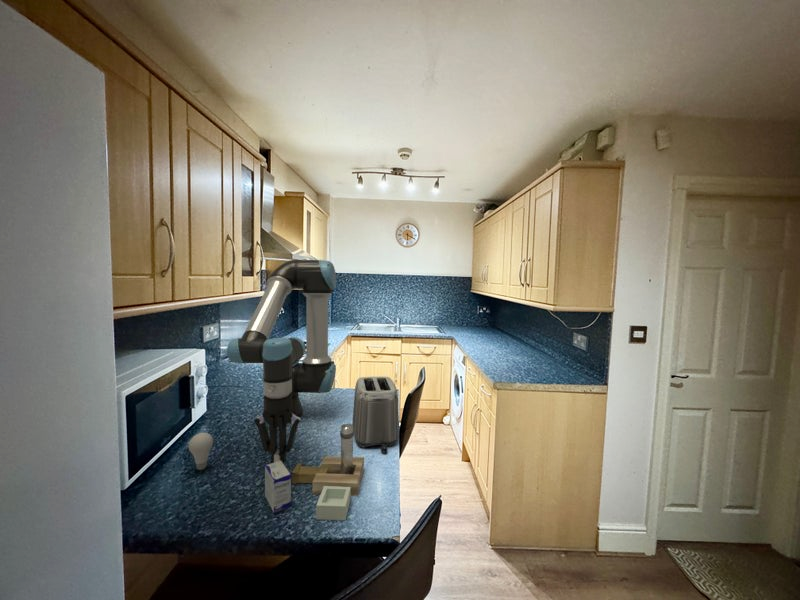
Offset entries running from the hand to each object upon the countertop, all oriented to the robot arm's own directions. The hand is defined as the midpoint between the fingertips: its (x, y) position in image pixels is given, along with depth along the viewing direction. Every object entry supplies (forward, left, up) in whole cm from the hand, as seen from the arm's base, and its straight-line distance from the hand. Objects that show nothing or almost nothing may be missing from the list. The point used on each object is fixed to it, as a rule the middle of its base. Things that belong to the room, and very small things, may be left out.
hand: (278, 474), depth 90 cm
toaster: (+25, +28, -2) cm, 37 cm away
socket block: (+18, 0, -1) cm, 18 cm away
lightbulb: (-24, +3, -1) cm, 25 cm away
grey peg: (+20, 0, -1) cm, 20 cm away
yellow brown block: (+9, 0, -1) cm, 9 cm away
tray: (+19, -11, -1) cm, 22 cm away
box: (+4, -9, -2) cm, 10 cm away
